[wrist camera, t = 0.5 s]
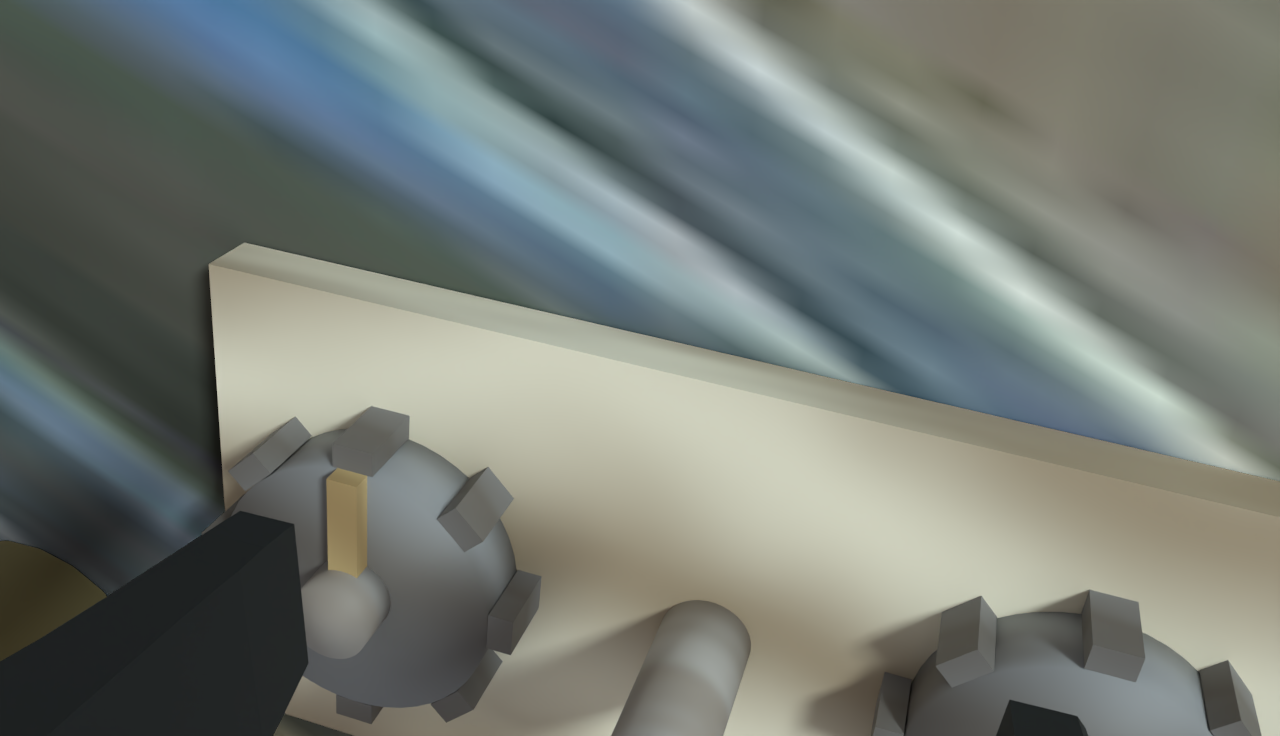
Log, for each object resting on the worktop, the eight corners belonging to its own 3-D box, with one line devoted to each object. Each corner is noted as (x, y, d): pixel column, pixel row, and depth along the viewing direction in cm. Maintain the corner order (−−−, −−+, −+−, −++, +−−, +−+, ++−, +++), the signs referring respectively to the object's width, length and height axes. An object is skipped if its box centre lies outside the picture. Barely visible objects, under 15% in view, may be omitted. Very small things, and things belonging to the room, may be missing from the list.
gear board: (1176, 947, 25) (1213, 1264, 19) (265, 665, 29) (95, 863, 24) (1391, 507, 20) (1520, 777, 14) (244, 242, 24) (20, 376, 19)
